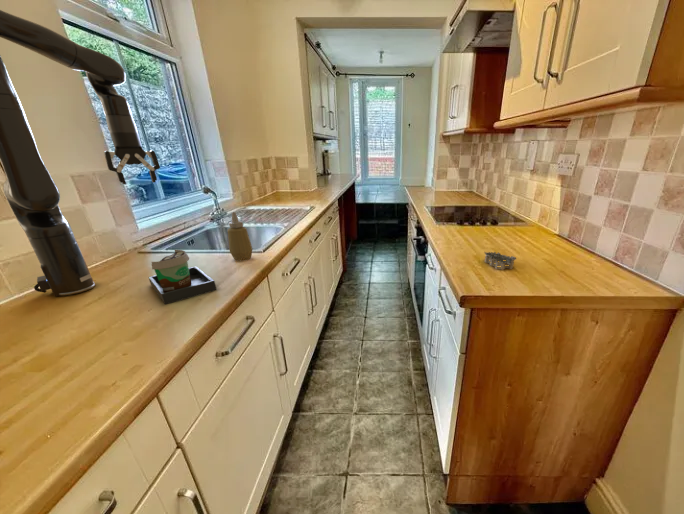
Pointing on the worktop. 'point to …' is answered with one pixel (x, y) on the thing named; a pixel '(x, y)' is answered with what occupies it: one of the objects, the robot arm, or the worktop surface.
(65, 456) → the worktop surface
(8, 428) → the worktop surface
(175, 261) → the food container
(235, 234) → the squeeze bottle
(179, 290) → the tray
